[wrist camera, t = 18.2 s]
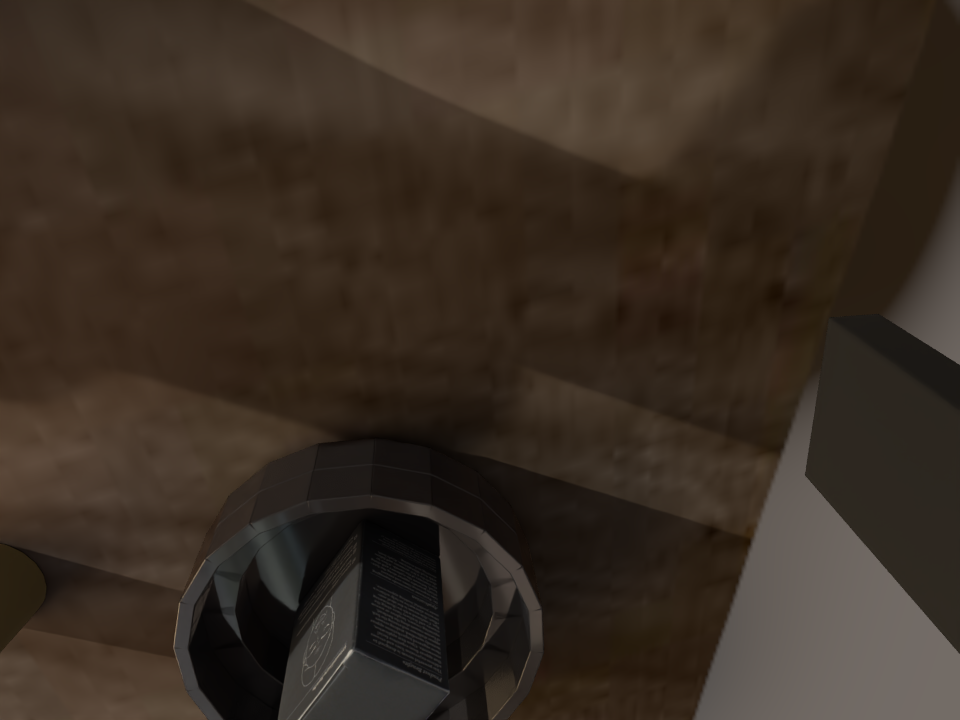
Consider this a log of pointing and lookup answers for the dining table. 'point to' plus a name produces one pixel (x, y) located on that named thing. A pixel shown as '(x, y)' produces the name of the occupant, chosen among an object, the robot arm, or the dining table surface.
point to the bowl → (313, 545)
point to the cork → (18, 592)
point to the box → (369, 635)
